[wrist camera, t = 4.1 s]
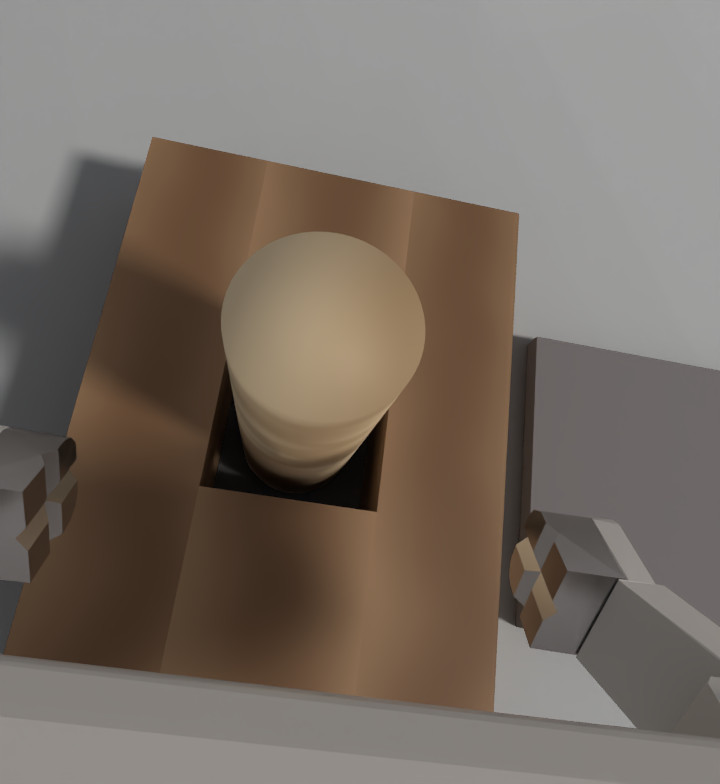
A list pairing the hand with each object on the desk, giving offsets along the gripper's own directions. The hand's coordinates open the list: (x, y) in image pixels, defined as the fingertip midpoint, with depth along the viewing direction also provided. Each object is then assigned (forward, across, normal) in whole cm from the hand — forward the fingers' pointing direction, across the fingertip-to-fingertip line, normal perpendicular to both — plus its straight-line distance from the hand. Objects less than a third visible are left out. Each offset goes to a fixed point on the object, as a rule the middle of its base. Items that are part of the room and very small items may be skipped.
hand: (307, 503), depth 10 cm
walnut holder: (+8, 0, +4) cm, 9 cm away
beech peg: (+8, 0, +4) cm, 9 cm away
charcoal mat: (+8, -13, +4) cm, 16 cm away
